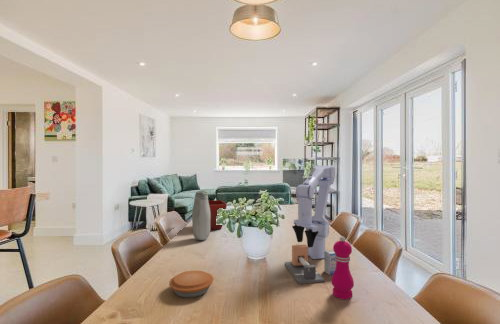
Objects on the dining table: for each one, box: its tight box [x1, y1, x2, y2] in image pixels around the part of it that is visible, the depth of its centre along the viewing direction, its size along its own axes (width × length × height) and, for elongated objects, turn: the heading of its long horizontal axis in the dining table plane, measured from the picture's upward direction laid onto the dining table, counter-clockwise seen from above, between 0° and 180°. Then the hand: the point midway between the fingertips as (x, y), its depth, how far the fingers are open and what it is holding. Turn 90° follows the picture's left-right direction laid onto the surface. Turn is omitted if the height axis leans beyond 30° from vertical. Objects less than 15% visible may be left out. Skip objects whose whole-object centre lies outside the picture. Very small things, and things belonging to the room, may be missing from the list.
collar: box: [291, 244, 309, 266], centre depth 118 cm, size 3×6×8 cm, turn 98°
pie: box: [168, 270, 214, 299], centre depth 100 cm, size 16×16×5 cm
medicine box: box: [323, 249, 336, 276], centre depth 114 cm, size 8×4×9 cm, turn 105°
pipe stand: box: [284, 256, 325, 285], centre depth 114 cm, size 19×10×6 cm, turn 8°
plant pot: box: [208, 199, 228, 231], centre depth 187 cm, size 19×19×17 cm
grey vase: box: [191, 190, 211, 241], centre depth 160 cm, size 10×10×28 cm
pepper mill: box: [331, 236, 355, 300], centre depth 95 cm, size 7×7×20 cm
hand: (305, 244), depth 120 cm, fingers open, 7 cm apart
